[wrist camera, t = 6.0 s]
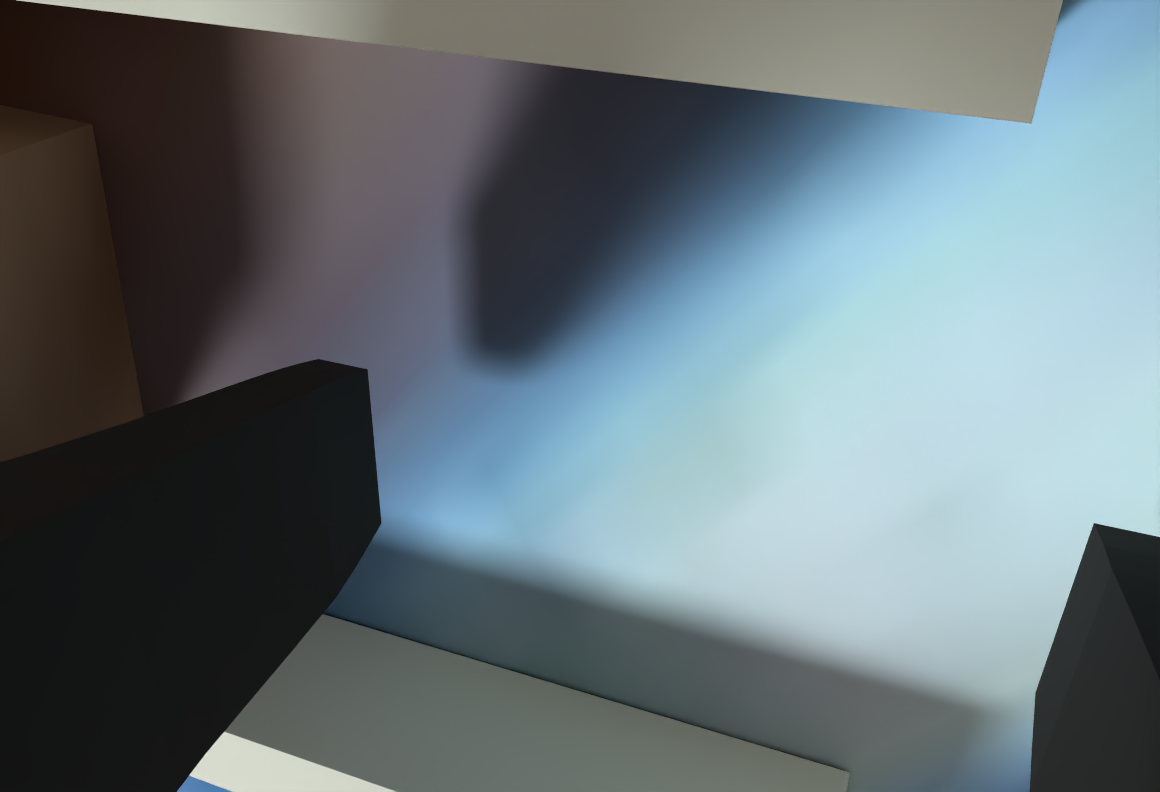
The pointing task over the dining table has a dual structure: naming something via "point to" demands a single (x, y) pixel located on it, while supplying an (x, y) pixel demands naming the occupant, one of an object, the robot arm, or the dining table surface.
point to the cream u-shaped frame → (496, 695)
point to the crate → (58, 290)
